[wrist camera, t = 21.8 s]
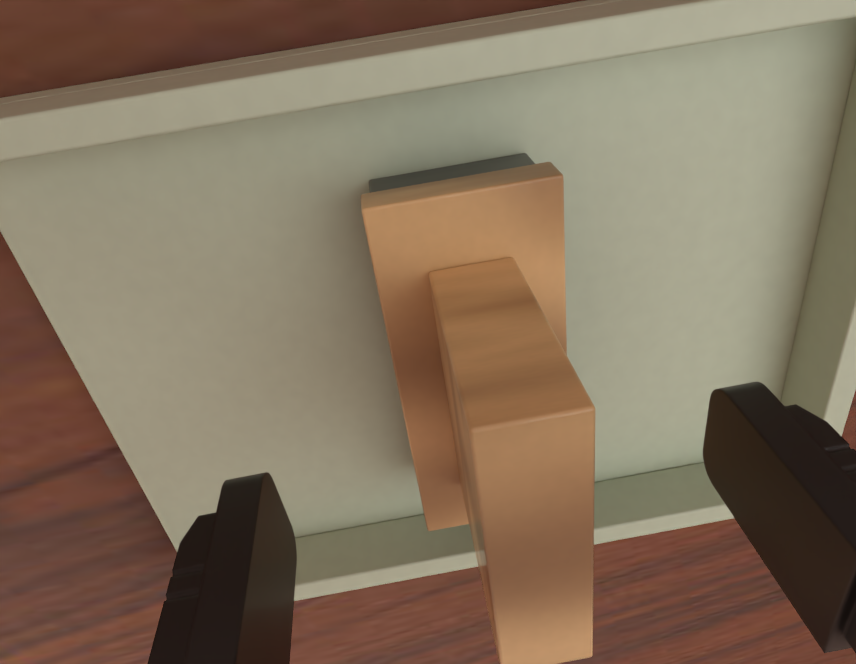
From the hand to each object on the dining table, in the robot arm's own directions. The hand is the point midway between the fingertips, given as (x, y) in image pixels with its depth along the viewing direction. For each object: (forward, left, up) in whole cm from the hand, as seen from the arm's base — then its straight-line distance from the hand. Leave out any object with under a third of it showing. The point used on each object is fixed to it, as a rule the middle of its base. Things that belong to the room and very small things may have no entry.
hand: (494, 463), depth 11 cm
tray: (+2, +1, -8) cm, 8 cm away
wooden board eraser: (+2, 0, -7) cm, 7 cm away
